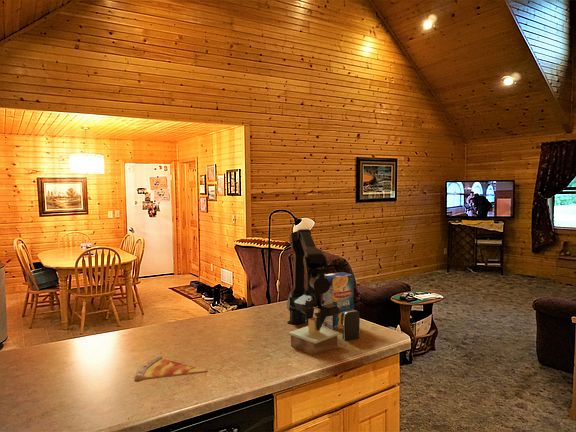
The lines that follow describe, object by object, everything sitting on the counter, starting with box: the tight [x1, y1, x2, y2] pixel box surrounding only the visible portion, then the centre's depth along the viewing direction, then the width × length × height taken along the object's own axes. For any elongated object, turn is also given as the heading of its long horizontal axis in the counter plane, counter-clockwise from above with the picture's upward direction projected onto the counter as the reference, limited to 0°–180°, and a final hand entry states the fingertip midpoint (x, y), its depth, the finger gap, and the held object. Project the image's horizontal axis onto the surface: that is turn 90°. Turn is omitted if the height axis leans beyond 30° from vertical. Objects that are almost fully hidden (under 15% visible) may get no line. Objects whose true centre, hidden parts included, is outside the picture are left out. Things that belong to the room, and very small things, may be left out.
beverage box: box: [322, 271, 355, 331], centre depth 183 cm, size 7×11×22 cm, turn 121°
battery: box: [341, 309, 361, 342], centre depth 168 cm, size 7×4×11 cm, turn 118°
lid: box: [288, 316, 340, 344], centre depth 159 cm, size 13×13×6 cm
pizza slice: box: [134, 354, 208, 381], centre depth 138 cm, size 16×22×2 cm
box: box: [290, 335, 338, 356], centre depth 160 cm, size 12×12×5 cm
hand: (314, 329), depth 160 cm, fingers open, 4 cm apart
